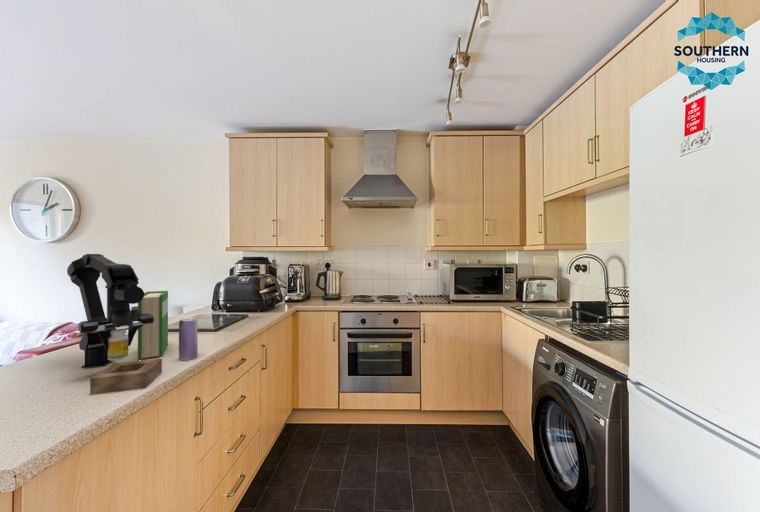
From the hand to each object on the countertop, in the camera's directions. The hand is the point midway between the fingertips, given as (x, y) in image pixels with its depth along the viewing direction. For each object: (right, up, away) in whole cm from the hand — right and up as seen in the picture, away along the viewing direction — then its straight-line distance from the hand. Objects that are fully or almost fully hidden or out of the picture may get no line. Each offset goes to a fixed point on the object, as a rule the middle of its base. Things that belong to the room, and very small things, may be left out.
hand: (118, 347), depth 102 cm
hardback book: (-2, -8, +19) cm, 21 cm away
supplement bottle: (0, -4, 0) cm, 4 cm away
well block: (+11, -8, -9) cm, 17 cm away
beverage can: (+16, -8, +13) cm, 22 cm away
